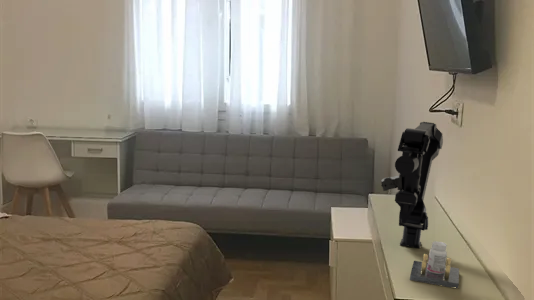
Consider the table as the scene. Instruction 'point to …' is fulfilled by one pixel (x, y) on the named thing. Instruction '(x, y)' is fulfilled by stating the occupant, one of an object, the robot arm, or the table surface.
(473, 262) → the table surface
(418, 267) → the grey pegged plate
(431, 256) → the pill bottle
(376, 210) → the table surface
